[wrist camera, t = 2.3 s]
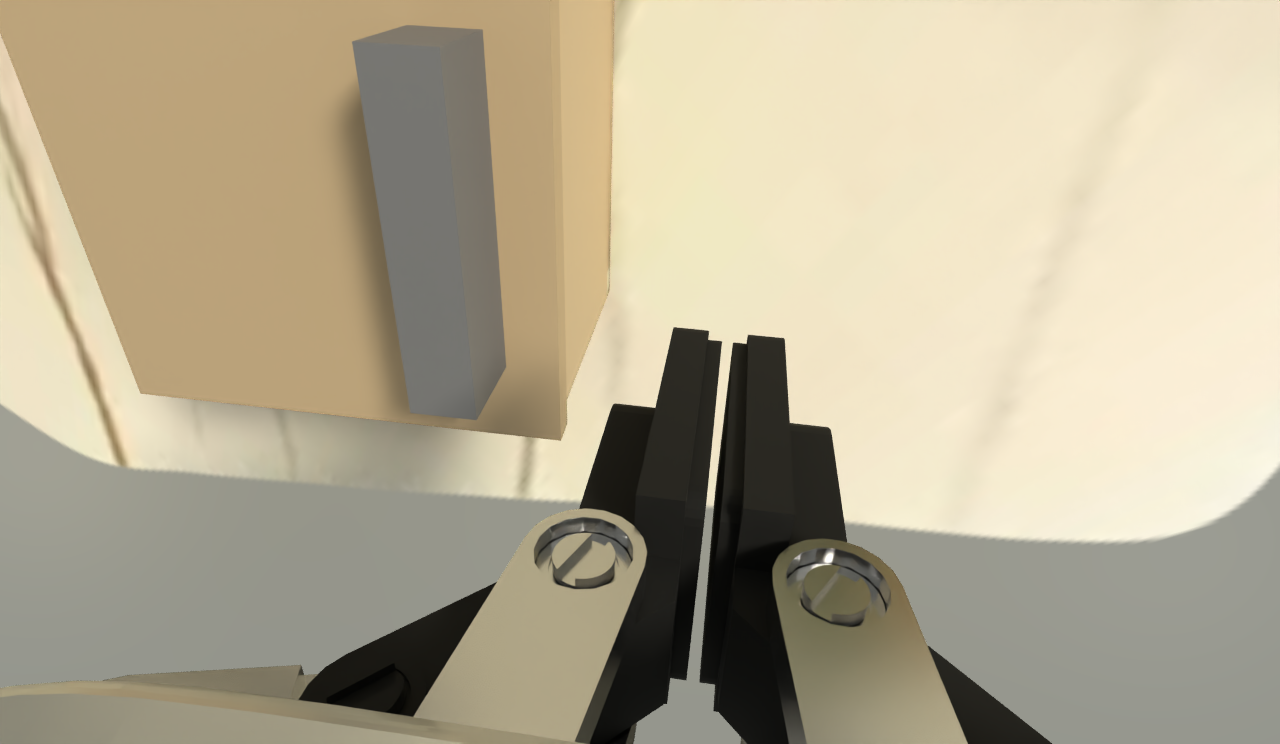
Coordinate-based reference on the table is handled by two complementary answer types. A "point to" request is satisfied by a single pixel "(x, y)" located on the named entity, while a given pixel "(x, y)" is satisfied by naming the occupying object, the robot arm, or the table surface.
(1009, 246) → the table surface
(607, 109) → the shipping box
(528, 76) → the box lid
